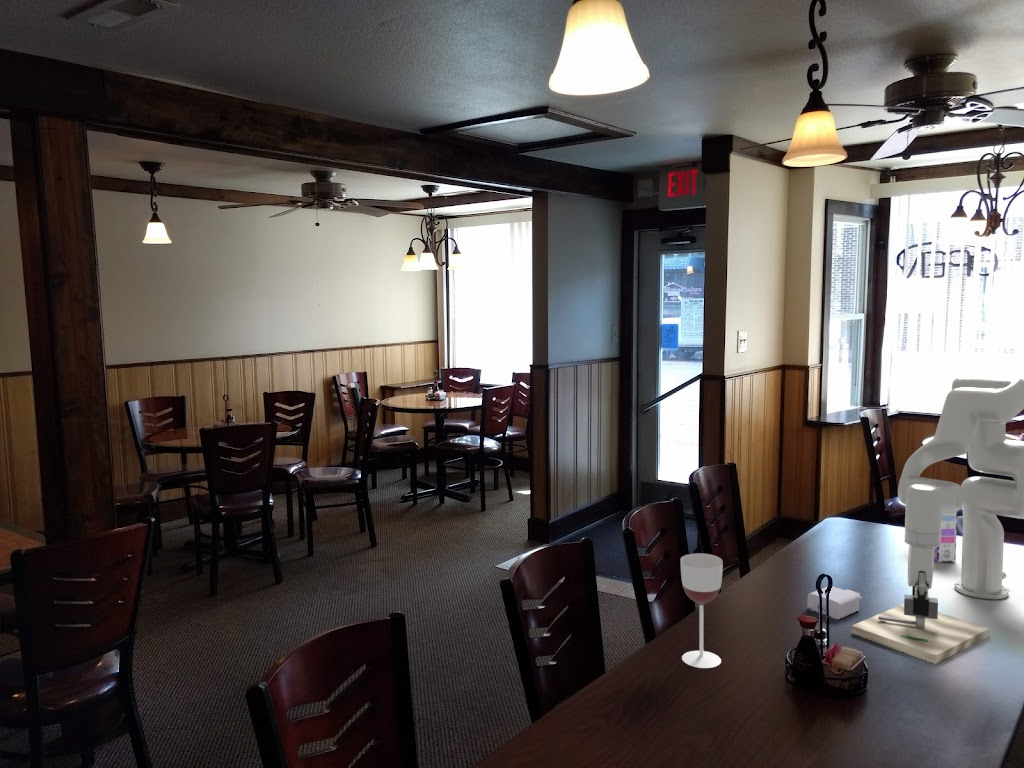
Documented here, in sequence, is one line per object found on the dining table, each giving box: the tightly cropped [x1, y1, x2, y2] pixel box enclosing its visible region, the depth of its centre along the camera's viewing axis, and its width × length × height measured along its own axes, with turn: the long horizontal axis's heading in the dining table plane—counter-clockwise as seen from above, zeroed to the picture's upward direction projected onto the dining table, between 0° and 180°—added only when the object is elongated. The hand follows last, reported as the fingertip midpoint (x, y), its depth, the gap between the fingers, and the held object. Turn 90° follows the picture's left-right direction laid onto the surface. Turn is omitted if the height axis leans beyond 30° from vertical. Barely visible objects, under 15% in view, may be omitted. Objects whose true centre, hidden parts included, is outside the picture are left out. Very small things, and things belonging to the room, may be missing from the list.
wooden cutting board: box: [851, 603, 990, 665], centre depth 184 cm, size 24×20×2 cm
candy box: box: [934, 511, 958, 563], centre depth 239 cm, size 14×6×16 cm, turn 179°
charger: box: [806, 585, 863, 620], centre depth 201 cm, size 5×9×15 cm
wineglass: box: [680, 552, 724, 669], centre depth 173 cm, size 9×10×23 cm
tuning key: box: [878, 593, 939, 628], centre depth 184 cm, size 12×3×7 cm, turn 64°
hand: (920, 607), depth 183 cm, fingers open, 9 cm apart
